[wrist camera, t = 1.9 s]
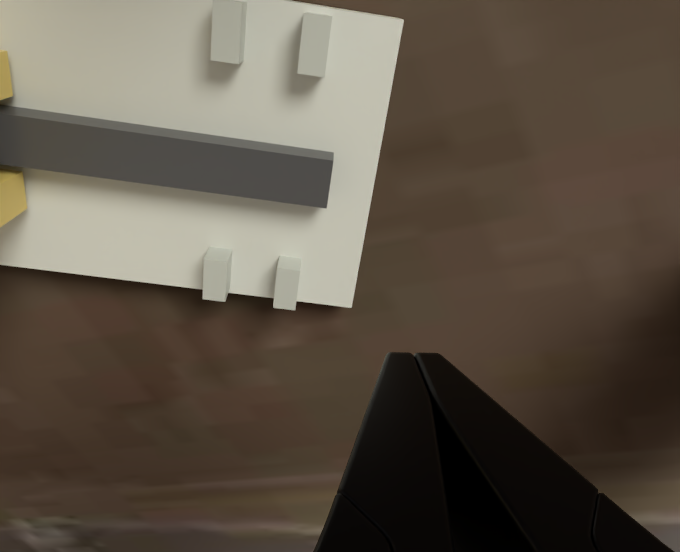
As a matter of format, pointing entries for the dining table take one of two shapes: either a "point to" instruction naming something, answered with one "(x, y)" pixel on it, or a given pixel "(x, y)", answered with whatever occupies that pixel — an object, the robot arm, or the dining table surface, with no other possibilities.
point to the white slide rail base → (196, 141)
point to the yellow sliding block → (7, 185)
